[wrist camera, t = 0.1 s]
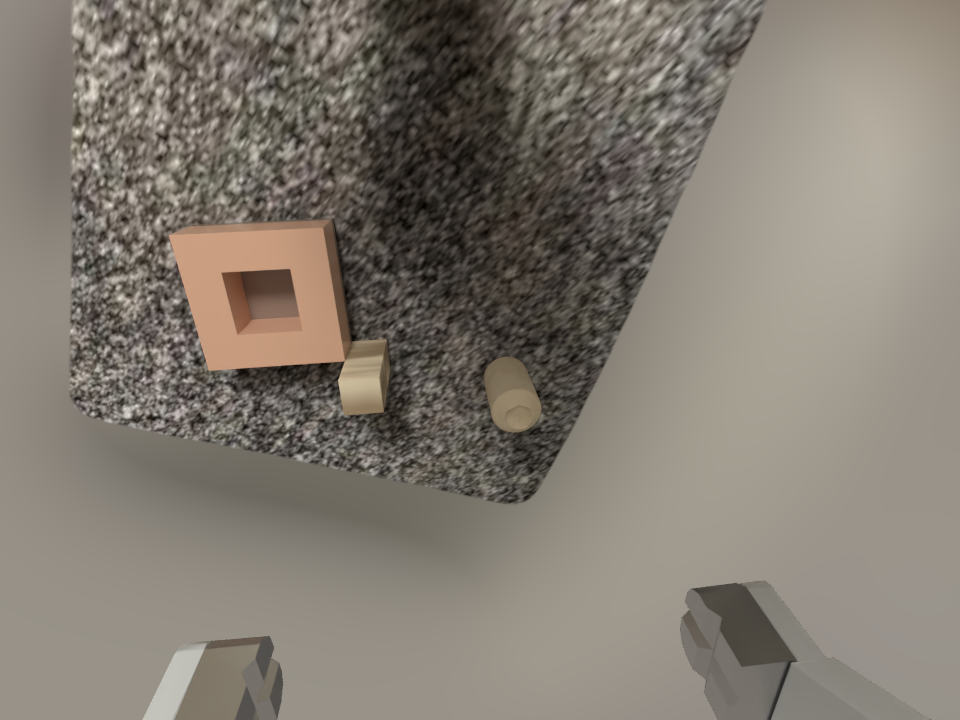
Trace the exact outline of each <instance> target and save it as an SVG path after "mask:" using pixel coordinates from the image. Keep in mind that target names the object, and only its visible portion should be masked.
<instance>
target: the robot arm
mask: <svg viewBox="0 0 960 720" xmlns="http://www.w3.org/2000/svg"><path fill="white" fill-rule="evenodd" d="M685 603H686V604H687V606H688V608H689V611H688V612H687V613H686V614H685V615H684V616H683V617H682V620H681V627H680V632H681V638H682V644H683V647H684V650H685V653H686V656H687V658H688V660H689V662H690V665H691V666H692V669H693V670H695V671H696V672H697V673H698V674H700V675H701V676H702V677H703V678H705V679H706V685H705V691H704V693H705V695H706V697H707V699H708V701H709V703H710V705H711V707H712V709H713V711H714V713H715V715H716V717H717V719H718V720H931V719H929V718H927V717H926V716H925V715H923V714H921V713H920V712H918V711H917V710H915V709H914V708H912V707H911V706H909V705H907V704H906V703H904V702H903V701H901V700H900V699H898V698H896V697H895V696H893V695H892V694H890V693H889V692H887V691H886V690H884V689H882V688H881V687H879V686H878V685H876V684H875V683H873V682H872V681H870V680H868V679H867V678H865V677H864V676H862V675H861V674H859V673H858V672H856V671H854V670H853V669H851V668H850V667H848V666H847V665H845V664H843V663H842V662H840V661H839V660H837V659H836V658H826V656H825V655H824V654H823V653H822V651H821V650H820V649H819V647H818V646H817V645H816V644H815V642H814V641H813V640H812V638H811V637H810V636H809V634H808V633H807V632H806V630H805V629H804V628H803V627H802V625H801V624H800V622H799V621H798V620H797V618H796V617H795V616H794V615H793V613H792V612H791V611H790V609H789V608H788V607H787V605H786V604H785V603H784V601H783V600H782V599H781V598H780V596H779V595H778V594H777V592H776V591H775V590H774V588H773V587H772V586H771V585H770V584H769V583H767V582H766V581H755V582H747V583H740V584H738V583H732V584H724V585H716V586H710V587H709V586H708V587H701V588H693V589H690V590H689V591H688V592H687V595H686V599H685ZM273 650H274V646H273V643H272V641H271V638H270V636H264V637H254V638H253V637H252V638H241V639H229V640H217V641H205V642H196V643H186V644H183V645H182V646H181V647H180V648H179V649H178V651H177V652H176V653H175V654H174V656H173V658H172V660H171V663H170V665H169V667H168V668H167V671H166V673H165V675H164V677H163V679H162V681H161V683H160V685H159V687H158V689H157V691H156V693H155V695H154V697H153V699H152V701H151V703H150V705H149V707H148V710H147V712H146V714H145V716H144V718H143V720H277V717H278V713H279V709H280V705H281V699H282V689H283V679H282V670H281V667H280V664H279V663H278V662H277V661H275V660H274V659H272V658H271V657H272V653H273Z"/></svg>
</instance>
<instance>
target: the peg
mask: <svg viewBox="0 0 960 720" xmlns="http://www.w3.org/2000/svg"><path fill="white" fill-rule="evenodd" d="M389 375H390V362H389V354H388V346H387V339H378V340H363V341H352V343H351V346H350V349H349V351H348V354H347V357H346V360H345V363H344V365H343V368H342V371H341V374H340V377H339V379H338V383H339V388H340V394H341V400H342V406H343V411H344V415H354V414H368V413H381V412H384V408H385V401H386V395H387V388H388V382H389Z"/></svg>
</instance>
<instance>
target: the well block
mask: <svg viewBox="0 0 960 720" xmlns="http://www.w3.org/2000/svg"><path fill="white" fill-rule="evenodd" d="M169 237H170V240H171V244H172V247H173V250H174V254H175V257H176V261H177V264H178V267H179V271H180V274H181V277H182V281H183V284H184V288H185V291H186V294H187V298H188V301H189V304H190V308H191V311H192V315H193V318H194V321H195V325H196V328H197V331H198V335H199V338H200V342H201V345H202V348H203V352H204V355H205V358H206V362H207V365H208V369H209V371H210V370H225V369H240V368H254V367H269V366H284V365H299V364H313V363H328V362H343V361H345V360H346V357H347V354H348V351H349V349H350V346H351V343H352V338H351V331H350V325H349V318H348V312H347V305H346V299H345V292H344V286H343V279H342V273H341V266H340V260H339V253H338V247H337V240H336V234H335V227H334V221H333V218H327V219H305V220H284V221H263V222H242V223H221V224H200V225H193V226H190V227H188V228H185V229H183V230H180V231H178V232H176V233H173V234H171V235H169Z"/></svg>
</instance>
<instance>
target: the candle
mask: <svg viewBox="0 0 960 720" xmlns="http://www.w3.org/2000/svg"><path fill="white" fill-rule="evenodd" d="M484 383H485V388H486V393H487V397H488V402H489V406H490V411H491V415H492V419H493V421H494V423H495V424H496V425H497V426H498V427H499V428H500V429H502V430H504V431H507V432H522V431H525V430H527V429H529V428H531V427H532V426H533V425H534V424H535V423H536V422H537V421H538V419H539V417H540V414H541V403H540V401H539V398H538V396H537V393H536V391H535V388H534V386H533V384H532V381H531V379H530V376H529V374H528V371H527V369H526V367H525V366H524V364H523V363H522V362H521V361H519V360H518V359H516V358H513V357H501V358H498V359H496V360H494V361H492V362H491V363H490V364H489V365H488V367H487V368H486V370H485V374H484Z"/></svg>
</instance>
